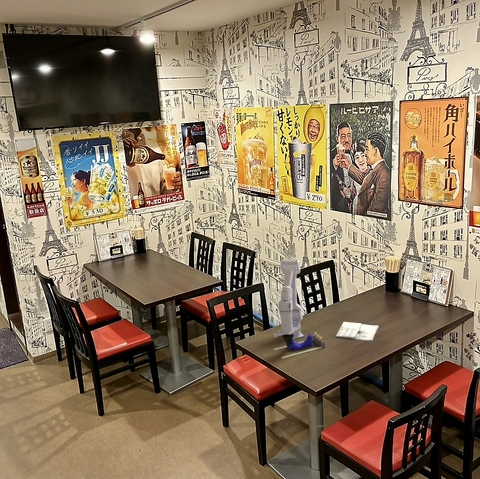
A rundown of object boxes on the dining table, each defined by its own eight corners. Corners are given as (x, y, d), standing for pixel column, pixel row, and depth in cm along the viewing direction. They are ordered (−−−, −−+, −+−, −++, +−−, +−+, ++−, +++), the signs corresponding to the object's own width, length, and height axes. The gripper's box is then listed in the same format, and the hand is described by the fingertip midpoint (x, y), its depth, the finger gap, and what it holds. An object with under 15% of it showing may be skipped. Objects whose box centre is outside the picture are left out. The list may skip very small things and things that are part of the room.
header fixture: (273, 349, 262) (273, 341, 260) (314, 339, 269) (314, 330, 268) (282, 358, 252) (281, 350, 250) (324, 347, 259) (324, 338, 258)
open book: (344, 323, 286) (344, 320, 285) (379, 327, 277) (379, 324, 276) (335, 338, 270) (335, 334, 269) (372, 343, 261) (372, 339, 260)
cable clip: (290, 350, 259) (289, 340, 258) (288, 346, 263) (288, 336, 262) (312, 348, 260) (312, 337, 258) (311, 344, 264) (310, 333, 263)
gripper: (277, 328, 249) (279, 352, 252) (302, 322, 253) (304, 346, 257) (271, 323, 255) (273, 347, 258) (296, 317, 260) (298, 340, 263)
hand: (288, 346), depth 258 cm, fingers closed
